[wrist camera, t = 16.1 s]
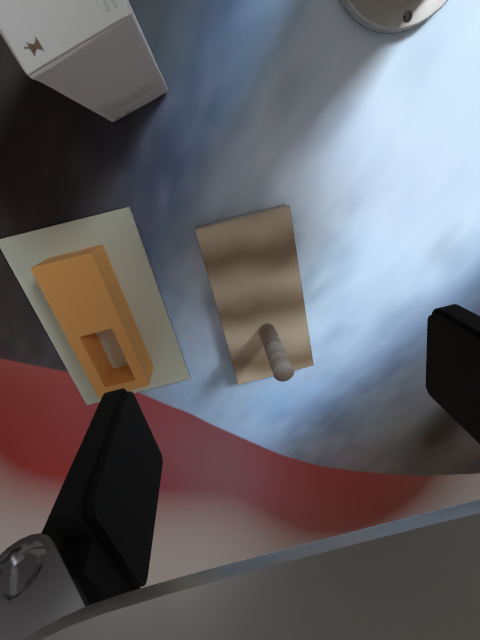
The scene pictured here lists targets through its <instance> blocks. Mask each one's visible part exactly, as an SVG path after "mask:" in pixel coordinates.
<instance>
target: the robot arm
mask: <svg viewBox="0 0 480 640" xmlns="http://www.w3.org/2000/svg"><path fill="white" fill-rule="evenodd" d="M447 1H448V0H341V2H342V3H343V5H344V7H345V8H346V10H347V11H348V12H349V13H350V14H351V16H352V17H353V18H354V19H355V20H356V21H357V22H359V23H360V24H362V25H363V26H365V27H366V28H368V29H371V30H374V31H377V32H380V33H397V32H402V31H406V30H409V29H411V28H413V27H415V26H418V25H419V24H421V23H422V22H424V21H425V20H427V19H428V18H430V17H431V16H432V15H433V14H435V13H436V12H437V11H438V10H439V9H441V8H442V7H443V5H444V4H445V3H446V2H447ZM403 18H404V21H403ZM426 388H427V391H428V393H429V395H430V396H431V397H432V398H433V399H434V400H435V401H436V402H437V403H438V404H439V405H440V406H441V407H442V408H443V409H444V410H445V411H446V412H447V413H448V414H449V415H450V416H452V417H453V418H454V419H455V420H456V421H457V422H458V423H459V424H460V425H461V426H462V427H463V428H464V429H465V430H466V431H467V432H468V433H469V434H470V435H471V436H472V437H473V438H474V439H475V440H476V441H477V442H478V443H479V444H480V316H478V315H476V314H474V313H472V312H470V311H468V310H467V309H465V308H463V307H461V306H459V305H456V304H453V305H449V306H445V307H441V308H437V309H435V310H433V312H432V315H430V316H429V317H428V326H427V360H426ZM161 472H162V455H161V452H160V450H159V447H158V446H157V443H156V441H155V439H154V437H153V435H152V432H151V430H150V428H149V426H148V424H147V421H146V419H145V417H144V415H143V413H142V411H141V409H140V406H139V404H138V402H137V400H136V398H135V396H134V394H133V392H132V391H129V392H127V391H126V390H125V389H124V388H122V389H118V390H114V391H110V392H106V393H104V394H103V396H102V398H101V401H100V403H99V405H98V407H97V410H96V412H95V414H94V417H93V419H92V421H91V423H90V426H89V428H88V430H87V432H86V435H85V437H84V439H83V442H82V444H81V446H80V448H79V450H78V452H77V454H76V457H75V459H74V461H73V463H72V466H71V468H70V470H69V472H68V475H67V477H66V479H65V481H64V484H63V486H62V488H61V490H60V493H59V495H58V497H57V500H56V502H55V504H54V506H53V508H52V511H51V513H50V515H49V518H48V520H47V522H46V524H45V527H44V529H43V531H42V533H39V534H34V535H30V536H27V537H25V538H23V539H21V540H19V541H17V542H16V543H14V544H13V545H11V546H10V547H9V548H7V549H6V550H5V551H4V552H3V553H2V554H1V555H0V640H480V500H476V501H472V502H468V503H464V504H460V505H456V506H452V507H448V508H444V509H440V510H436V511H432V512H428V513H424V514H421V515H416V516H413V517H409V518H405V519H401V520H397V521H393V522H389V523H385V524H382V525H378V526H373V527H370V528H366V529H362V530H358V531H354V532H350V533H346V534H343V535H338V536H334V537H331V538H327V539H323V540H319V541H315V542H311V543H308V544H304V545H300V546H296V547H292V548H288V549H284V550H281V551H277V552H273V553H269V554H265V555H262V556H258V557H254V558H250V559H246V560H243V561H239V562H235V563H231V564H227V565H224V566H220V567H216V568H212V569H208V570H205V571H201V572H197V573H194V574H190V575H186V576H183V577H179V578H176V579H173V580H169V581H166V582H162V583H158V584H155V585H151V586H148V587H144V588H140V587H142V586H144V585H145V584H146V582H147V577H148V569H149V562H150V554H151V547H152V540H153V532H154V525H155V516H156V510H157V502H158V495H159V487H160V480H161Z"/></svg>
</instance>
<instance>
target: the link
mask: <svg viewBox="0 0 480 640" xmlns="http://www.w3.org/2000/svg"><path fill="white" fill-rule="evenodd" d="M30 269H31V271H32V273H33V275H34V277H35V279H36V281H37V282H38V284H39V286H40V288H41V290H42V292H43V294H44V296H45V297H46V299H47V301H48V303H49V305H50V307H51V309H52V311H53V313H54V314H55V316H56V318H57V320H58V322H59V324H60V326H61V328H62V330H63V331H64V333H65V335H66V337H67V339H68V341H69V343H70V345H71V347H72V348H73V350H74V352H75V354H76V356H77V358H78V360H79V362H80V364H81V365H82V367H83V369H84V371H85V373H86V375H87V377H88V379H89V381H90V382H91V384H92V386H93V388H94V390H95V392H96V394H97V396H98V398H102V396H103V394H104V393H106V392H110V391H114V390H118V389H122V388H124V389H125V390H126V391H130V390H134V389H138V388H142V387H146V386H149V384H150V380H151V376H152V372H153V368H154V366H153V364H152V362H151V359H150V357H149V354H148V352H147V349H146V347H145V345H144V342H143V340H142V337H141V335H140V333H139V330H138V328H137V325H136V323H135V321H134V318H133V316H132V313H131V311H130V308H129V306H128V304H127V301H126V299H125V296H124V294H123V292H122V289H121V287H120V284H119V282H118V280H117V277H116V275H115V272H114V270H113V267H112V265H111V263H110V260H109V258H108V255H107V253H106V251H105V248H104V246H103V244H101V245H97V246H93V247H89V248H86V249H82V250H78V251H74V252H70V253H66V254H62V255H58V256H54V257H50V258H47V259H46V260H44V261H42V262H40V263H38V264H37V265H35V266H33V267H31V268H30ZM108 329H112V330H113V332H114V334H115V336H116V338H117V341H118V343H119V345H120V347H121V349H122V352H123V354H124V356H125V358H126V360H127V363H128V365H126V366H122V367H118V368H114V369H113V367H112V365H111V363H110V360H109V358H108V356H107V354H106V352H105V350H104V348H103V346H102V344H101V342H100V340H99V338H98V335H97V333H96V332H100V331H104V330H108Z"/></svg>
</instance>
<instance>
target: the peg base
mask: <svg viewBox="0 0 480 640" xmlns="http://www.w3.org/2000/svg"><path fill="white" fill-rule="evenodd" d="M195 231H196V235H197V238H198V242H199V245H200V249H201V252H202V256H203V260H204V263H205V267H206V270H207V274H208V277H209V281H210V285H211V288H212V292H213V295H214V299H215V302H216V306H217V309H218V313H219V317H220V320H221V324H222V327H223V331H224V334H225V338H226V342H227V345H228V349H229V352H230V356H231V359H232V363H233V367H234V370H235V374H236V377H237V381H238V384H243V383H246V382H250V381H254V380H258V379H262V378H266V377H270V376H274V377H275V379H277V380H278V381H287V380H289V379H290V378H291V377H292V376H293V374H294V370H298V369H302V368H305V367H309V366H313V358H312V351H311V345H310V338H309V332H308V325H307V318H306V312H305V305H304V299H303V292H302V285H301V279H300V272H299V266H298V259H297V252H296V246H295V239H294V233H293V226H292V219H291V213H290V206H287V205H282V206H278V207H274V208H270V209H266V210H262V211H258V212H254V213H250V214H246V215H242V216H238V217H234V218H230V219H226V220H222V221H218V222H214V223H210V224H206V225H202V226H198V227H196V228H195Z"/></svg>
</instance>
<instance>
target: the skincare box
mask: <svg viewBox="0 0 480 640" xmlns="http://www.w3.org/2000/svg"><path fill="white" fill-rule="evenodd" d="M0 34H1V35H2V37H3V38H4V40H5V42H6V43H7V45H8V46H9V48H10V50H11V51H12V53H13V55H14V56H15V58H16V59H17V61H18V62H19V64H20V65H21V67H22V69H23V70H24V71H25V73H26V74H27V75H28V76H29V77H30V78H32V79H33V80H37V81H39V82H41V83H43V84H45V85H47V86H49V87H50V88H52V89H54V90H56V91H58V92H59V93H61V94H63V95H65V96H66V97H68V98H70V99H72V100H74V101H75V102H77V103H79V104H81V105H83V106H84V107H86V108H88V109H90V110H92V111H93V112H95V113H97V114H99V115H101V116H102V117H104V118H106V119H107V120H109V121H111V122H114V121H116V120H118V119H120V118H122V117H124V116H126V115H127V114H129V113H131V112H133V111H135V110H136V109H138V108H140V107H142V106H143V105H145V104H147V103H149V102H151V101H152V100H154V99H156V98H158V97H159V96H161V95H163V94H164V93H166V92H168V88H167V86H166V83H165V81H164V79H163V77H162V74H161V72H160V70H159V68H158V65H157V63H156V61H155V59H154V57H153V54H152V52H151V50H150V48H149V46H148V43H147V41H146V39H145V37H144V35H143V32H142V30H141V28H140V26H139V24H138V21H137V19H136V17H135V15H134V12H133V10H132V8H131V6H130V4H129V1H128V0H0Z"/></svg>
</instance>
